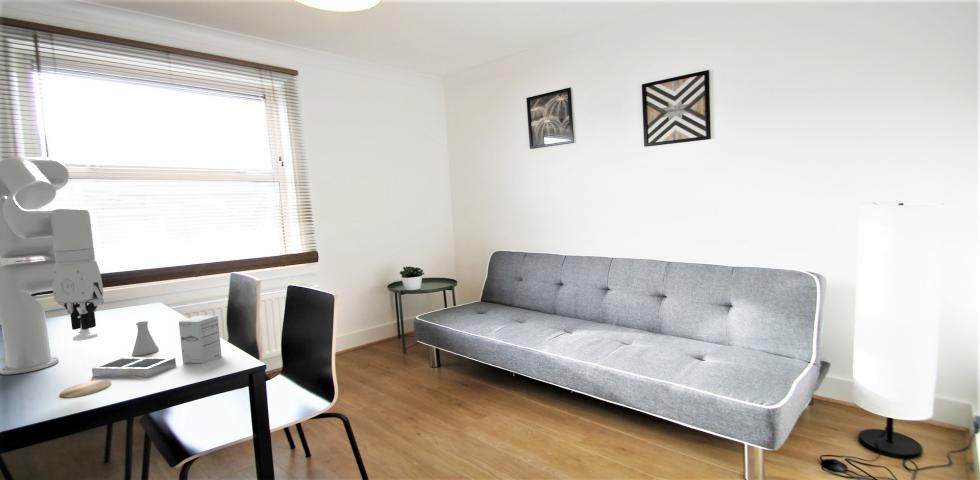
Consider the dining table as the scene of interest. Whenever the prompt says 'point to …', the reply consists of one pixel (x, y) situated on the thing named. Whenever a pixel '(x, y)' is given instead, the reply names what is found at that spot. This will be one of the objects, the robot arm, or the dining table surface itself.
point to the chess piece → (84, 333)
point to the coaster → (85, 388)
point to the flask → (144, 341)
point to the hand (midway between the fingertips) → (84, 327)
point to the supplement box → (200, 339)
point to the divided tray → (133, 367)
